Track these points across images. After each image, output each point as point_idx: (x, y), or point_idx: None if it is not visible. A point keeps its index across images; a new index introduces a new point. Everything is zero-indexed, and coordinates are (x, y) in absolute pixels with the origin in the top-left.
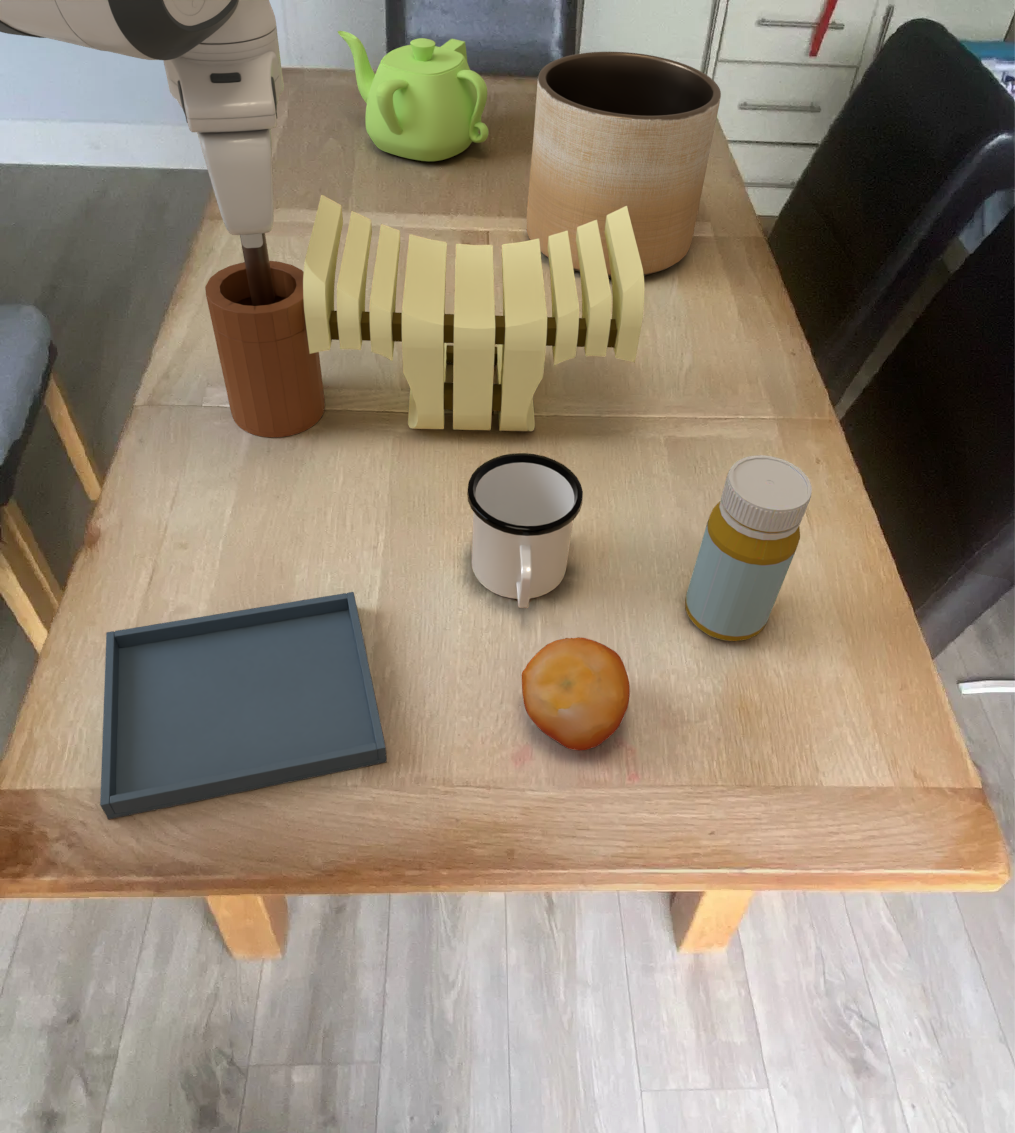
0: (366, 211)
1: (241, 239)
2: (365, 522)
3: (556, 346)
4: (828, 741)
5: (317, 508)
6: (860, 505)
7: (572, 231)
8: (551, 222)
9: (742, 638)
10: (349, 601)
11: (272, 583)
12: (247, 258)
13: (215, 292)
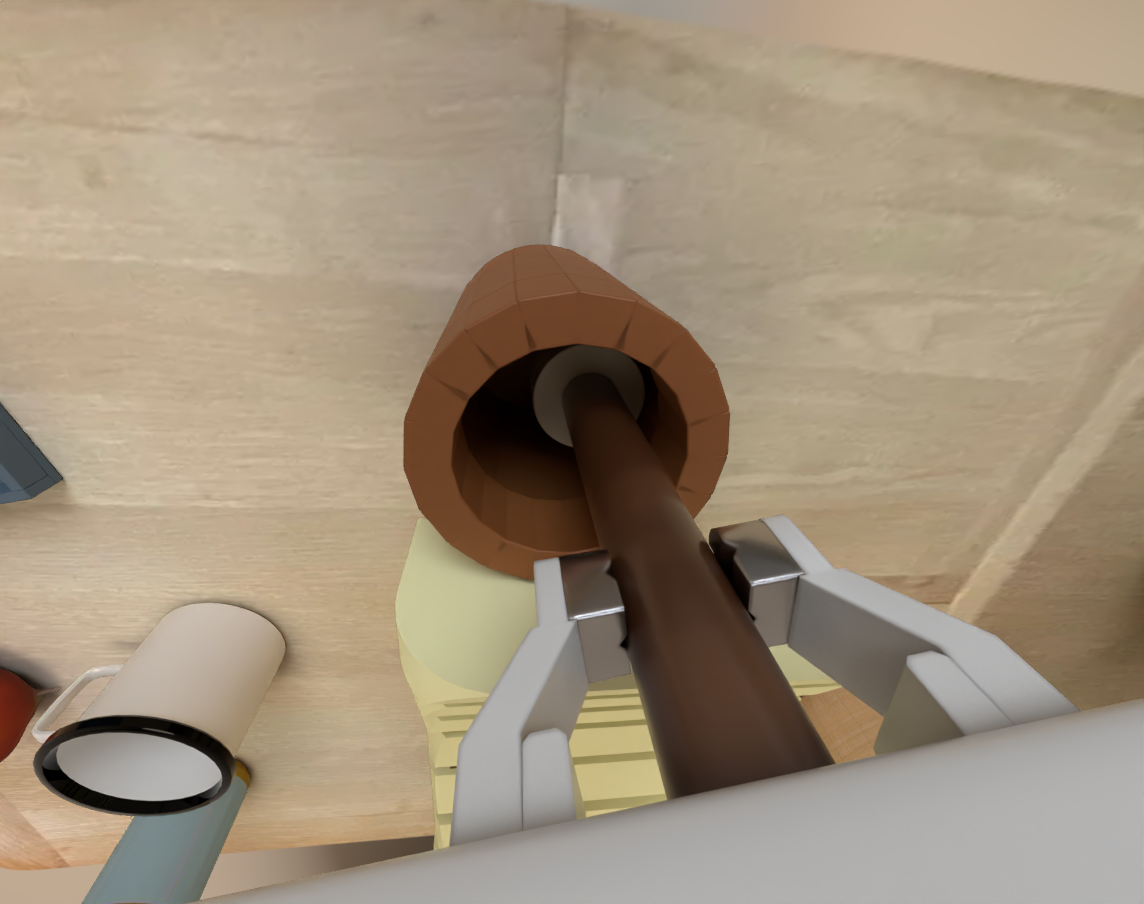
0: (1108, 448)
1: (536, 583)
2: (260, 482)
3: (435, 833)
4: (75, 815)
5: (275, 416)
6: (389, 838)
7: (843, 738)
8: (877, 720)
9: None
10: (6, 494)
11: (62, 359)
12: (602, 492)
13: (533, 333)
